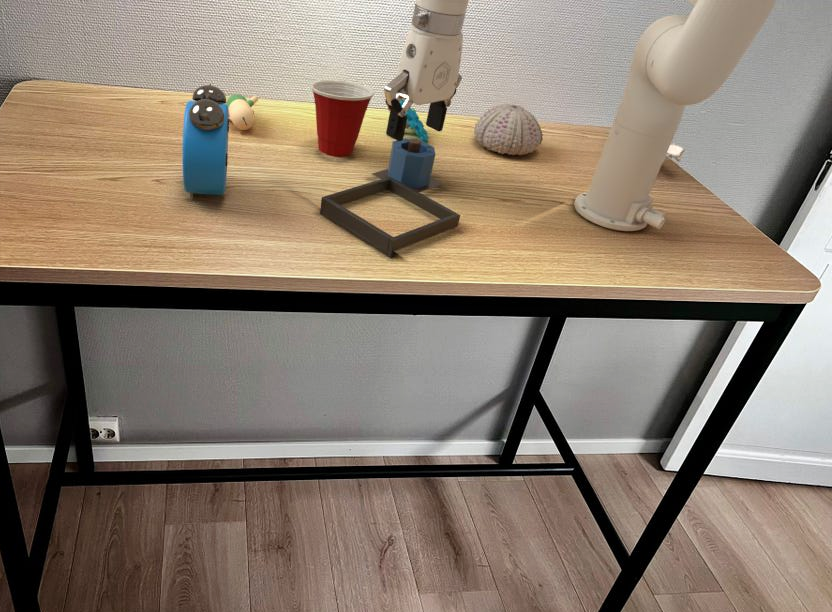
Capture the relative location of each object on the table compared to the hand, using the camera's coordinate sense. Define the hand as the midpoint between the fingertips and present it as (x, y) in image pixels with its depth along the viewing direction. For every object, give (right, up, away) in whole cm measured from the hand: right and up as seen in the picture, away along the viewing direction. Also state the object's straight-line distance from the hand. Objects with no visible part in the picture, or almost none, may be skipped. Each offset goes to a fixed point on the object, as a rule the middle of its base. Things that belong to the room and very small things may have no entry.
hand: (414, 133), depth 118 cm
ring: (-1, -6, +5) cm, 8 cm away
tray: (-5, -16, -6) cm, 18 cm away
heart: (+48, +2, +27) cm, 55 cm away
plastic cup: (-13, 0, +11) cm, 18 cm away
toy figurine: (-31, +7, +17) cm, 36 cm away
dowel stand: (-1, -7, +5) cm, 9 cm away
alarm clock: (-33, -11, -6) cm, 35 cm away
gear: (+1, +6, +22) cm, 23 cm away
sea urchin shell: (+20, +5, +25) cm, 33 cm away
